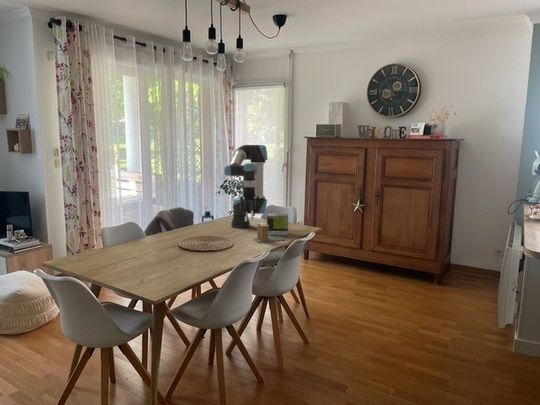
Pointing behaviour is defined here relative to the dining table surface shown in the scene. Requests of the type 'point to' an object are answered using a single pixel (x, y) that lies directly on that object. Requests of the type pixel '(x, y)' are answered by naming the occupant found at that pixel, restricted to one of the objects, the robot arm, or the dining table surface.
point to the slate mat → (271, 239)
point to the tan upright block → (262, 231)
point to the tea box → (277, 224)
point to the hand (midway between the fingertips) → (249, 220)
